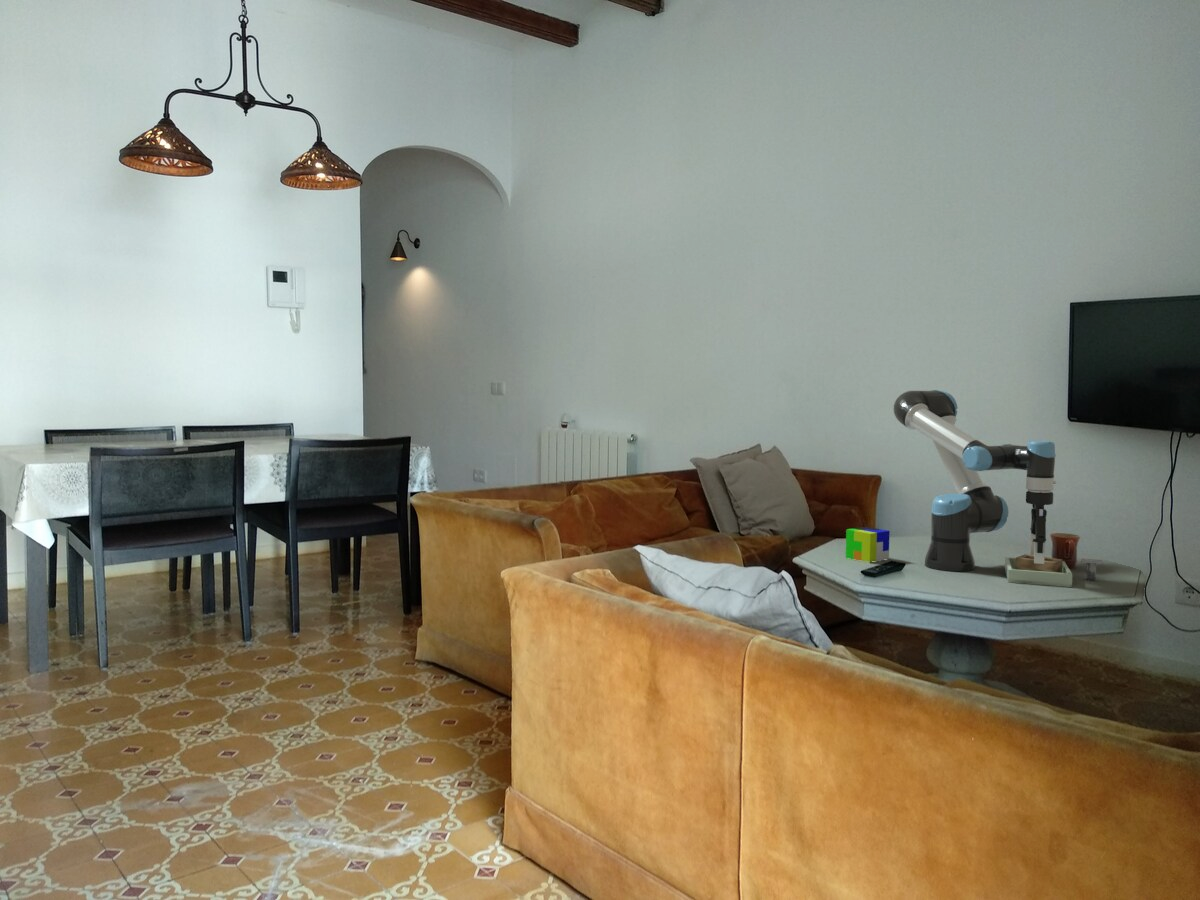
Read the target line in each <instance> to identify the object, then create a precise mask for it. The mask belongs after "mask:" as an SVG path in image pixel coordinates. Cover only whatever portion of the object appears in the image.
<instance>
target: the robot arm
mask: <svg viewBox="0 0 1200 900" xmlns="http://www.w3.org/2000/svg"><path fill="white" fill-rule="evenodd" d="M957 410H958V403H957V400H956V399H955V397H954V396H953V395H952V394H951V393H949V392H948V391H946V390H945V391H944V390H938V389H932V390H907V391H905V392H903V393H901V394H900V395H899V396H898V397H897V398H896V400H894V404H893V414H894V417H895V419H896V420H897V421H898V422H899V423H900V424H902V425H903V426H904V427H905V428H908V429H909V430H917V431H918V432H919V433H921V434H922V435H925V437H928V438H929V439H930V440H932V442H933V444H934V446H935V448H936V450H937V452H938V454H939V457H940V459H941V461H942V464H943V465H944V467H945V469H946V471H947V474H948V476H949V479H950V480H951V482H952V484H953V486H954V488H955V490H956V493H944V494H941V495H937V496H935V497H934V499H933V500H932V506H931V510H930V511H931V529H930V530H931V536H930V543H929V547H928V550H927V551H926V554H925V557H924V566H926V567H927V568H931V569H935V570H940V571H941V570H942V571H951V572H967V571H972V570H974V569H975V563H976V562H975V558H974V556H973V555H974V554H973V552H972V549H971V546H970V545H971V544H970V542H971V541H970V539H971V538H970V537H971V536H970V535H971V534H975V533H990V532H994V531H997V530H998V531H999V530H1000V529H1002V528H1003V527H1004V526H1005V525H1006V523H1007V521H1008V517H1009V506H1008V504H1007V501H1006V500H1005V499H1004V498H1003V497H1001V496H999V495H995V494H994V493H993V490H992V488H991V487H990V486H989V485H986V484H984V483H983V481H982V479H981V476H980V474H979V473H978V472H984V471H994V470H995V471H996V470H997V471H998V470H1023V471H1026V476H1025V477H1026V478H1025V479H1026V481H1025V489H1026V492H1025V503H1026V504H1030V505H1031V506H1032V508H1031V510H1030V513H1031V521H1030V522H1031V523H1030V533H1031V535H1030V550H1029V551H1030V552H1029V555H1033V556H1034V563H1037V564H1044V557H1046V556H1045V552H1046V551H1045V550H1046V541H1047V538H1046V535H1047V533H1046V532H1047V530H1046V528H1047V527H1046V525H1047V524H1046V523H1047V515H1048V514H1047V513H1048V511H1047V510H1046V509H1045V506H1046V505H1047V506H1050V505H1053V504H1054V492H1053V490H1054V485H1055V484H1056V483H1057V482H1056V480H1055V463H1056V462H1055V461H1056V456H1057V455H1056V444H1055V442H1053V441H1050V440H1038V439H1036V440H1035V439H1034V440H1029V441H1028V442H1027V445H1016V444H1010V443H1008V444H999V445H987V444H986V443H983V442H981V441H980V440H978V439H976V438H975V437H973V436H972V435H970V434H969V433H967V432H966V431H963V430H962V429H961V428H958V426H956V425H955V424H956V422H957V415H958V411H957Z"/></svg>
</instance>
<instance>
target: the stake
mask: <svg viewBox="0 0 1200 900" xmlns="http://www.w3.org/2000/svg"><path fill="white" fill-rule="evenodd" d="M1080 563H1083V564H1084V563H1085V564H1086V581H1089V582H1096V581H1097V579H1096V577H1097V576H1096V575H1097V564H1099V565H1100V564H1101V565H1103V559H1102V558H1090V557H1087V558H1086V557H1081V562H1080Z"/></svg>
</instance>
